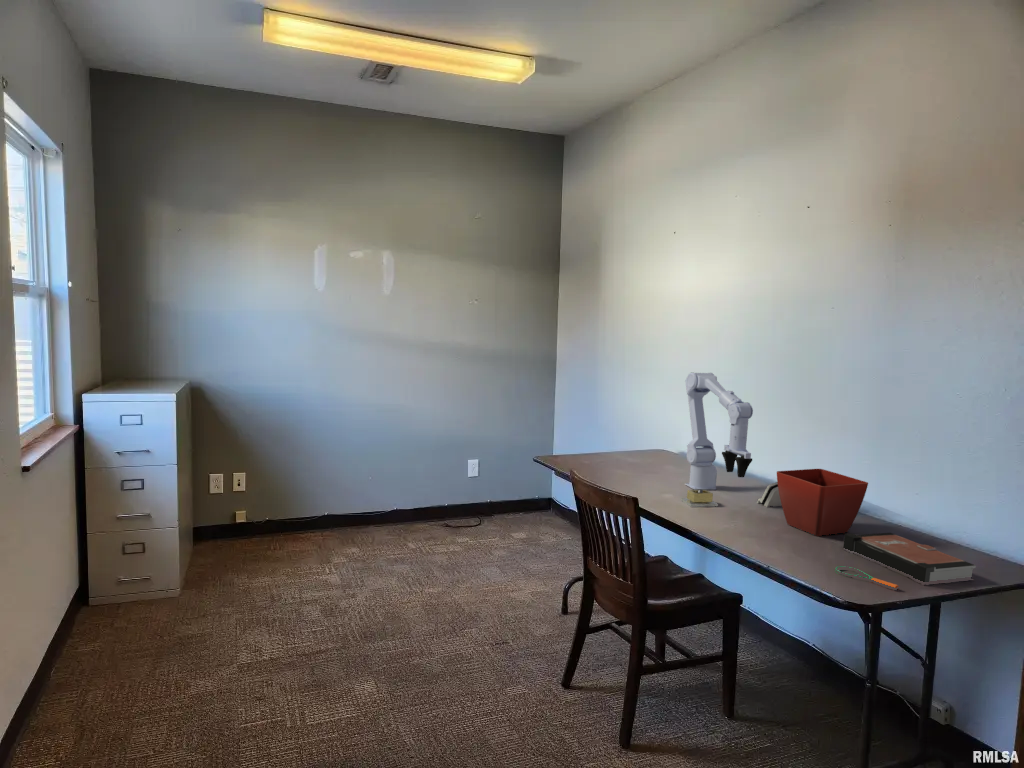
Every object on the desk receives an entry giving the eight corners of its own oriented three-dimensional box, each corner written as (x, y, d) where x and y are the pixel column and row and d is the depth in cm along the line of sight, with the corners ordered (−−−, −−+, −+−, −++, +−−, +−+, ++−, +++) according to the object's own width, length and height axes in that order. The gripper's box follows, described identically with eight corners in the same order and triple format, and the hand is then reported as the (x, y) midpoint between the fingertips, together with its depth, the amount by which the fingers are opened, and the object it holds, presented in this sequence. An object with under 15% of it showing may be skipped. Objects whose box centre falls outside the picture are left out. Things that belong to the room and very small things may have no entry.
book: (975, 582, 172) (978, 563, 171) (924, 587, 167) (926, 568, 166) (890, 547, 197) (892, 530, 196) (842, 551, 191) (844, 534, 191)
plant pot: (817, 541, 197) (822, 485, 196) (770, 522, 215) (774, 470, 213) (864, 536, 205) (870, 482, 203) (815, 518, 222) (820, 468, 221)
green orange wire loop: (830, 573, 173) (831, 566, 173) (843, 569, 177) (844, 563, 177) (889, 594, 161) (890, 587, 161) (902, 590, 164) (903, 583, 164)
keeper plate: (707, 500, 237) (708, 487, 237) (717, 506, 231) (718, 492, 230) (681, 501, 235) (682, 487, 235) (690, 506, 229) (691, 492, 228)
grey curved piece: (792, 500, 244) (801, 477, 240) (801, 508, 240) (811, 484, 236) (755, 503, 238) (765, 479, 234) (764, 511, 234) (774, 487, 230)
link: (705, 498, 236) (705, 489, 236) (712, 502, 231) (712, 493, 231) (686, 498, 235) (687, 489, 234) (693, 502, 230) (694, 493, 229)
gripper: (717, 432, 242) (714, 469, 243) (738, 440, 228) (735, 479, 229) (735, 433, 243) (732, 469, 244) (757, 440, 229) (754, 479, 230)
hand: (735, 474), depth 237 cm, fingers open, 7 cm apart
